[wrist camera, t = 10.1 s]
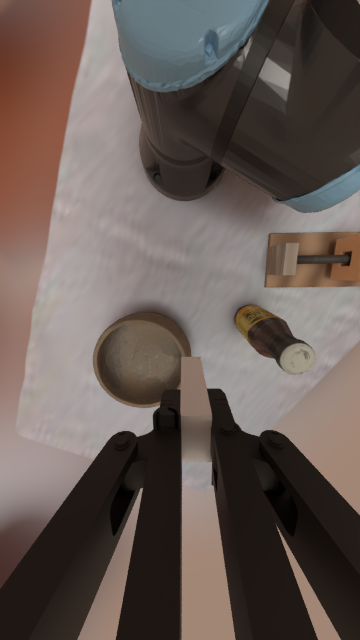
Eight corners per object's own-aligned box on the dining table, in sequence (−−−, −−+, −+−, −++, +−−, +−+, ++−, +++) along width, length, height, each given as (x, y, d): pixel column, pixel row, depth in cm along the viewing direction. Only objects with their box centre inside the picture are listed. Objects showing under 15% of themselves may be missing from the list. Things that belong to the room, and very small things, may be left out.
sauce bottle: (264, 303, 41) (336, 332, 22) (261, 332, 42) (327, 383, 23) (232, 304, 41) (276, 333, 22) (231, 332, 43) (271, 383, 23)
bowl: (100, 365, 45) (77, 391, 35) (126, 293, 41) (108, 299, 31) (170, 392, 46) (167, 424, 37) (202, 325, 42) (208, 341, 33)
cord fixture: (264, 287, 40) (289, 292, 31) (269, 234, 38) (298, 221, 28) (364, 285, 40) (421, 290, 30) (375, 232, 37) (441, 219, 28)
